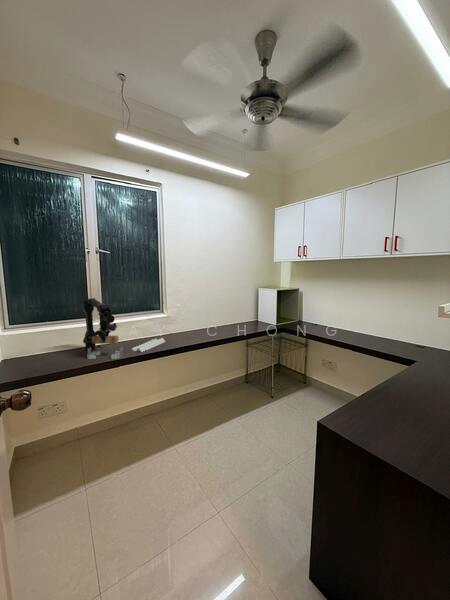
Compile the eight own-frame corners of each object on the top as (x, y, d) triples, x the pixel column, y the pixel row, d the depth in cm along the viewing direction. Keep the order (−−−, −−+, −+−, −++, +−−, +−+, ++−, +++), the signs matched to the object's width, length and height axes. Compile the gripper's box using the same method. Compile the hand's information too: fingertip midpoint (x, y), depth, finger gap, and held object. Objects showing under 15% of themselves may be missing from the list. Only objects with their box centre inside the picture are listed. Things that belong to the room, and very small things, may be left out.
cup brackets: (86, 358, 184) (85, 349, 184) (91, 354, 193) (91, 346, 192) (120, 358, 185) (119, 349, 184) (124, 354, 194) (123, 346, 193)
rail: (92, 343, 186) (91, 337, 185) (95, 341, 190) (94, 335, 189) (116, 343, 186) (115, 337, 186) (118, 341, 190) (118, 335, 190)
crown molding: (155, 340, 233) (155, 337, 232) (165, 342, 228) (165, 338, 228) (130, 350, 204) (130, 346, 204) (142, 352, 200) (142, 348, 199)
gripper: (109, 323, 177) (111, 344, 179) (119, 318, 195) (120, 337, 198) (93, 324, 176) (95, 345, 179) (105, 318, 195) (106, 337, 197)
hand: (105, 341), depth 188 cm, fingers closed on rail, 4 cm apart
